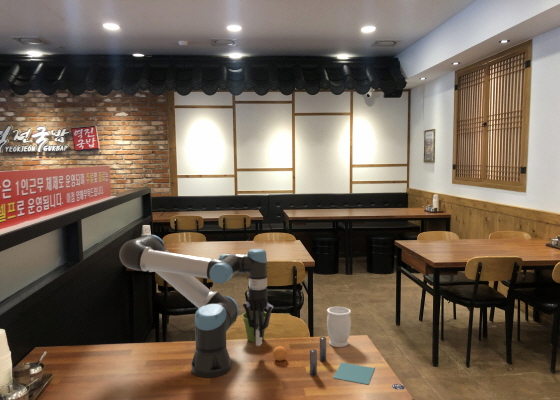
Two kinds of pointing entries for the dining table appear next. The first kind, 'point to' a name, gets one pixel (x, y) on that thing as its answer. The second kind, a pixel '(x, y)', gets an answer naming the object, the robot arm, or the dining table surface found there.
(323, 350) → the post
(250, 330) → the plant pot
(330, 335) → the jar
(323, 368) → the dining table surface
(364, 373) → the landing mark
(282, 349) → the ball
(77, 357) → the dining table surface
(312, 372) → the post
